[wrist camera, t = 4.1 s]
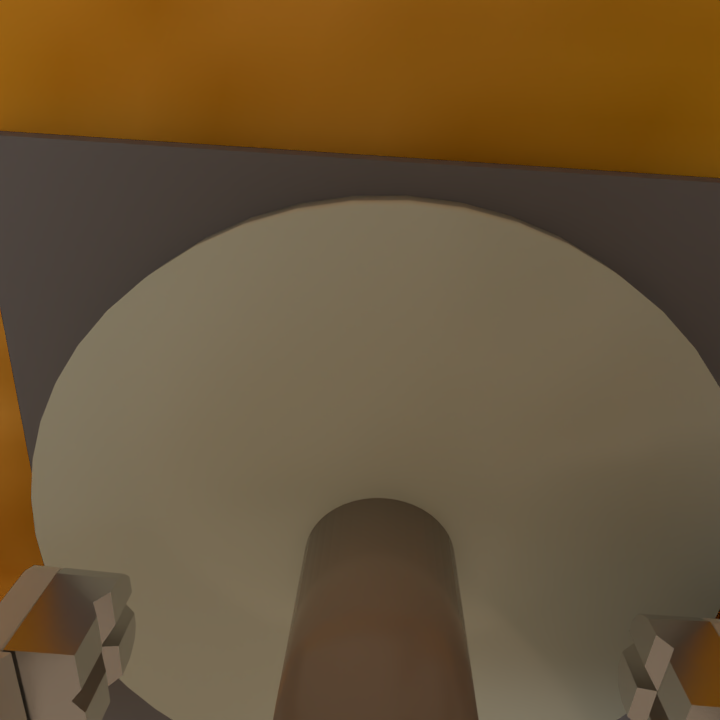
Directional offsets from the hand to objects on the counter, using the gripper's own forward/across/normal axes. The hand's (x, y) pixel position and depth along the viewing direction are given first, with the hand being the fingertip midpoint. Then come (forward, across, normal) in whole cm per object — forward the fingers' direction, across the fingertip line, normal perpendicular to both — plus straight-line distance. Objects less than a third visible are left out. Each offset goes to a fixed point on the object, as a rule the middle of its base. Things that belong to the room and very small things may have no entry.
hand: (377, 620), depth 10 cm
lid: (+2, 0, 0) cm, 3 cm away
